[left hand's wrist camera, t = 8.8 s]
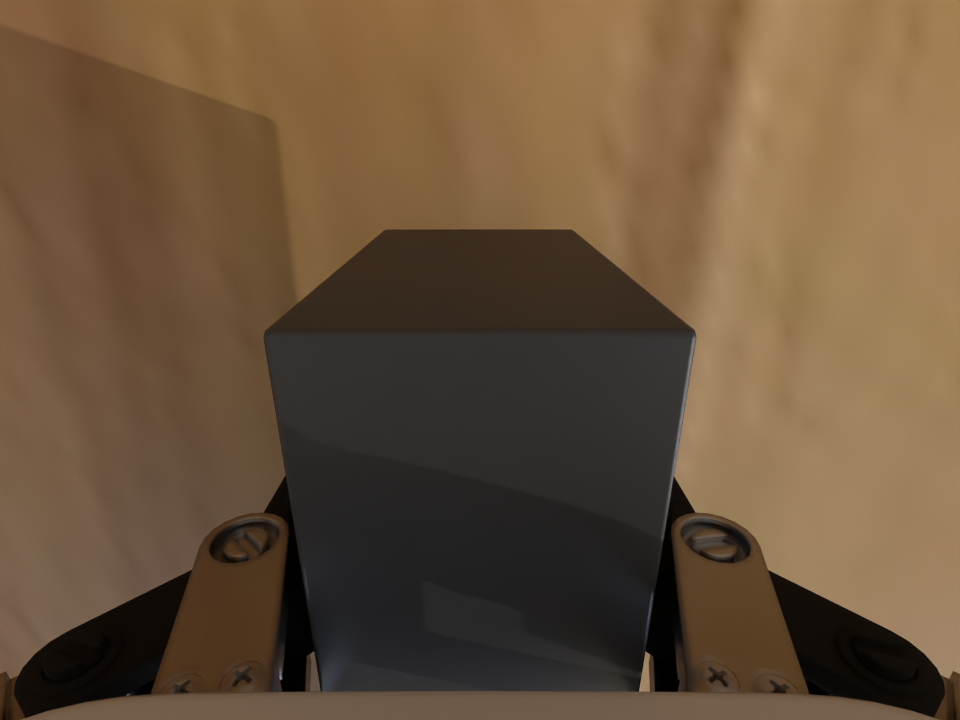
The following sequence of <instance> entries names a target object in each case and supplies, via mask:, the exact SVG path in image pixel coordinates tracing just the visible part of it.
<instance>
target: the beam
mask: <svg viewBox="0 0 960 720" xmlns="http://www.w3.org/2000/svg"><path fill="white" fill-rule="evenodd" d="M264 343H265V349H266V355H267V362H268V368H269V374H270V380H271V386H272V392H273V399H274V405H275V411H276V417H277V423H278V429H279V436H280V442H281V448H282V454H283V460H284V466H285V473H286V479H287V485H288V491H289V497H290V503H291V510H292V516H293V522H294V528H295V534H296V540H297V547H298V553H299V559H300V565H301V571H302V577H303V584H304V590H305V596H306V602H307V608H308V614H309V621H310V627H311V633H312V639H313V645H314V651H315V658H316V664H317V670H318V676H319V682H320V688H321V692H372V691H588V692H639V687H640V681H641V675H642V669H643V663H644V657H645V650H646V644H647V638H648V632H649V626H650V620H651V613H652V607H653V601H654V595H655V589H656V583H657V577H658V570H659V564H660V558H661V552H662V546H663V540H664V533H665V527H666V521H667V515H668V509H669V503H670V496H671V490H672V484H673V478H674V472H675V466H676V460H677V453H678V447H679V441H680V435H681V429H682V423H683V416H684V410H685V404H686V398H687V392H688V386H689V380H690V373H691V367H692V361H693V355H694V349H695V343H696V333H695V330H694V329H692V328H691V327H690V326H689V325H688V324H686V323H685V322H684V321H683V320H682V319H680V318H679V317H678V316H677V315H675V314H674V313H673V312H672V311H671V310H669V309H668V308H667V307H666V306H664V305H663V304H662V303H661V302H660V301H658V300H657V299H656V298H655V297H654V296H652V295H651V294H650V293H649V292H647V291H646V290H645V289H644V288H643V287H641V286H640V285H639V284H638V283H636V282H635V281H634V280H633V279H632V278H630V277H629V276H628V275H627V274H626V273H624V272H623V271H622V270H621V269H619V268H618V267H617V266H616V265H615V264H613V263H612V262H611V261H610V260H608V259H607V258H606V257H605V256H604V255H602V254H601V253H600V252H599V251H598V250H596V249H595V248H594V247H593V246H591V245H590V244H589V243H588V242H587V241H585V240H584V239H583V238H582V237H580V236H579V235H578V234H577V233H576V232H574V231H573V230H385V231H383V232H382V233H381V234H380V235H378V236H377V237H376V238H375V239H374V240H372V241H371V242H370V243H369V244H368V245H367V246H365V247H364V248H363V249H362V250H361V251H359V252H358V253H357V254H356V255H355V256H353V257H352V258H351V259H350V260H349V261H348V262H346V263H345V264H344V265H343V266H342V267H340V268H339V269H338V270H337V271H336V272H334V273H333V274H332V275H331V276H330V277H329V278H327V279H326V280H325V281H324V282H323V283H321V284H320V285H319V286H318V287H317V288H316V289H314V290H313V291H312V292H311V293H310V294H308V295H307V296H306V297H305V298H304V299H302V300H301V301H300V302H299V303H298V304H297V305H295V306H294V307H293V308H292V309H291V310H289V311H288V312H287V313H286V314H285V315H283V316H282V317H281V318H280V319H279V320H278V321H276V322H275V323H274V324H273V325H272V326H270V327H269V328H268V329H267V330H266V331H265V334H264Z"/></svg>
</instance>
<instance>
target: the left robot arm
mask: <svg viewBox="0 0 960 720" xmlns="http://www.w3.org/2000/svg"><path fill="white" fill-rule="evenodd" d="M313 651H314V645H313V639H312V633H311V627H310V621H309V614H308V608H307V602H306V596H305V590H304V584H303V577H302V571H301V565H300V559H299V553H298V547H297V540H296V534H295V528H294V522H293V516H292V510H291V503H290V497H289V491H288V485H287V479H286V476H285V478H284V479H283V481H282V483H281V484H280V486H279V488H278V489H277V491H276V493H275V494H274V496H273V498H272V500H271V501H270V503H269V505H268V506H267V508H266V510H265V511H264V513H251V514H247V515H243V516H239V517H236V518H233V519H231V520H229V521H226V522H224V523H223V524H221V525H220V526H218V527H216V528H215V529H213V530H212V531H211V532H210V533H209V534H208V535H207V536H206V537H205V538H204V540H203V542H202V544H201V546H200V548H199V551H198V554H197V557H196V560H195V563H194V566H193V569H192V570H191V571H189V572H187V573H185V574H183V575H180V576H178V577H176V578H174V579H172V580H170V581H168V582H166V583H164V584H162V585H160V586H158V587H156V588H154V589H152V590H150V591H148V592H146V593H144V594H142V595H140V596H138V597H136V598H134V599H132V600H130V601H128V602H126V603H124V604H122V605H120V606H118V607H116V608H114V609H112V610H110V611H108V612H106V613H104V614H102V615H100V616H98V617H96V618H94V619H92V620H90V621H88V622H86V623H84V624H82V625H80V626H78V627H76V628H74V629H72V630H70V631H68V632H66V633H64V634H62V635H61V636H59V637H57V638H56V639H54V640H52V641H51V642H49V643H48V644H47V645H46V646H44V647H43V648H42V649H41V650H39V651H38V652H37V653H36V654H35V655H34V656H33V657H32V658H31V659H30V660H29V661H28V663H27V664H26V665H25V666H24V667H23V668H22V670H21V672H20V674H19V676H16V677H14V678H12V679H10V678H9V676H8V674H7V672H3V673H1V674H0V720H960V674H959V673H956V672H954V671H953V672H952V674H951V676H950V678H949V679H948V678H946V677H943V676H941V675H940V673H939V672H938V670H937V668H936V667H935V666H934V664H933V663H932V662H931V661H930V660H929V659H928V658H927V656H926V655H925V654H924V653H922V652H921V651H920V650H919V649H918V648H916V647H915V646H914V645H913V644H911V643H910V642H909V641H907V640H906V639H904V638H902V637H900V636H899V635H897V634H895V633H894V632H892V631H890V630H888V629H886V628H884V627H882V626H880V625H878V624H876V623H874V622H872V621H870V620H868V619H866V618H864V617H862V616H860V615H858V614H856V613H854V612H852V611H850V610H848V609H846V608H844V607H841V606H839V605H837V604H835V603H833V602H831V601H829V600H827V599H825V598H823V597H821V596H819V595H817V594H815V593H813V592H811V591H809V590H807V589H805V588H803V587H801V586H799V585H797V584H795V583H793V582H791V581H789V580H787V579H785V578H783V577H781V576H779V575H777V574H775V573H773V572H771V571H769V570H768V569H767V566H766V563H765V560H764V557H763V554H762V551H761V548H760V546H759V544H758V542H757V540H756V538H755V537H754V536H753V535H752V534H751V533H750V532H749V531H748V530H747V529H745V528H744V527H742V526H740V525H739V524H737V523H736V522H734V521H731V520H729V519H727V518H724V517H721V516H717V515H713V514H709V513H695V511H694V509H693V508H692V506H691V504H690V503H689V501H688V499H687V498H686V496H685V494H684V493H683V491H682V489H681V487H680V486H679V484H678V482H677V481H676V479H675V477H674V478H673V484H672V490H671V496H670V503H669V509H668V515H667V521H666V527H665V533H664V540H663V546H662V552H661V558H660V564H659V570H658V577H657V583H656V589H655V595H654V601H653V607H652V613H651V620H650V626H649V632H648V638H647V644H646V650H645V651H646V652H647V653H649V654H650V659H649V676H650V692H588V691H372V692H310V676H311V659H310V653H312V652H313Z"/></svg>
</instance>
